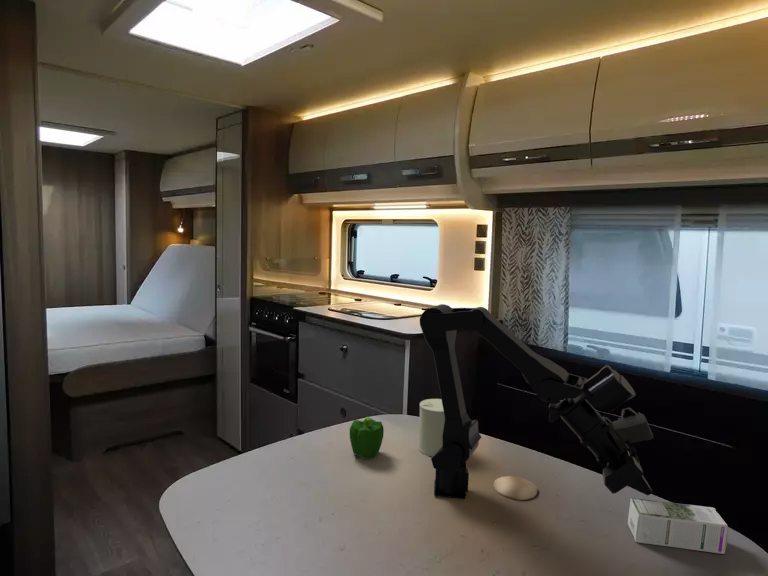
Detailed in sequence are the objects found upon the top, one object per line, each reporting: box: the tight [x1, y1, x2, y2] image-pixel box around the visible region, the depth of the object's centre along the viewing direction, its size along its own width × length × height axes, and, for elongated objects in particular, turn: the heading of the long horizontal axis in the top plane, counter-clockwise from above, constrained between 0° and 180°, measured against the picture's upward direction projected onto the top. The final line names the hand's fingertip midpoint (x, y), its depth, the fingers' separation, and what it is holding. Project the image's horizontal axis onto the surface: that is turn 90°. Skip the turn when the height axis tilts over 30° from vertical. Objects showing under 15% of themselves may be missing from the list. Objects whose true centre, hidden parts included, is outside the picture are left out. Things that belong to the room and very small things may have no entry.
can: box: [417, 398, 445, 458], centre depth 126 cm, size 9×9×12 cm
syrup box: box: [627, 497, 729, 555], centre depth 91 cm, size 6×6×14 cm
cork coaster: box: [493, 475, 538, 501], centre depth 108 cm, size 9×9×1 cm
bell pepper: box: [349, 416, 385, 460], centre depth 122 cm, size 8×8×10 cm
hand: (649, 493), depth 91 cm, fingers closed
